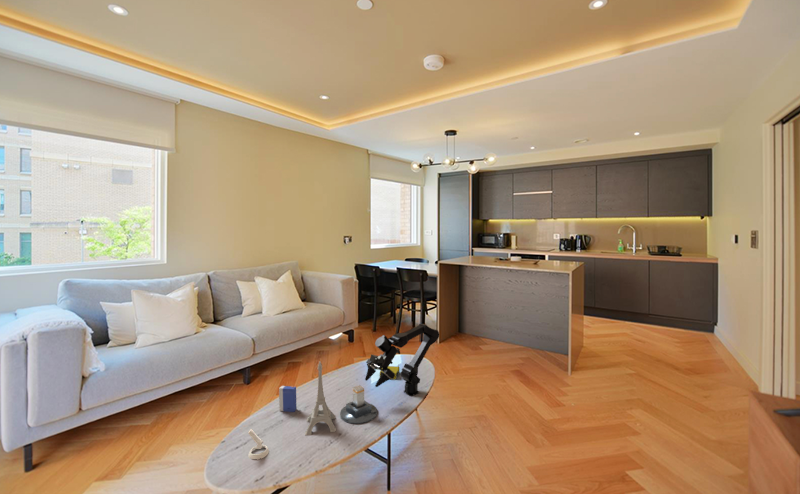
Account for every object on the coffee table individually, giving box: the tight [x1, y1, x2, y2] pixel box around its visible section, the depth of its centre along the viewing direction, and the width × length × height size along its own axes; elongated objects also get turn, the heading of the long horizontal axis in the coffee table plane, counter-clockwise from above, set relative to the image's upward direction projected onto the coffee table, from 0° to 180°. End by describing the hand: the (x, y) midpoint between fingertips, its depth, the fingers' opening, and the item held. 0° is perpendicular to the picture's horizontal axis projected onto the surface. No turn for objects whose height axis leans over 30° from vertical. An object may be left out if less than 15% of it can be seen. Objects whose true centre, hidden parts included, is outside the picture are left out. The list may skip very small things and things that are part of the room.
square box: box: [352, 384, 365, 409], centre depth 165 cm, size 4×4×12 cm
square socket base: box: [339, 399, 378, 425], centre depth 165 cm, size 18×18×4 cm
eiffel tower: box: [304, 361, 337, 436], centre depth 155 cm, size 13×13×30 cm
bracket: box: [376, 364, 400, 380], centre depth 209 cm, size 16×8×15 cm
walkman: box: [278, 385, 297, 413], centre depth 169 cm, size 8×3×12 cm, turn 81°
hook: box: [247, 428, 270, 460], centre depth 136 cm, size 8×12×7 cm
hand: (370, 383), depth 169 cm, fingers open, 9 cm apart
